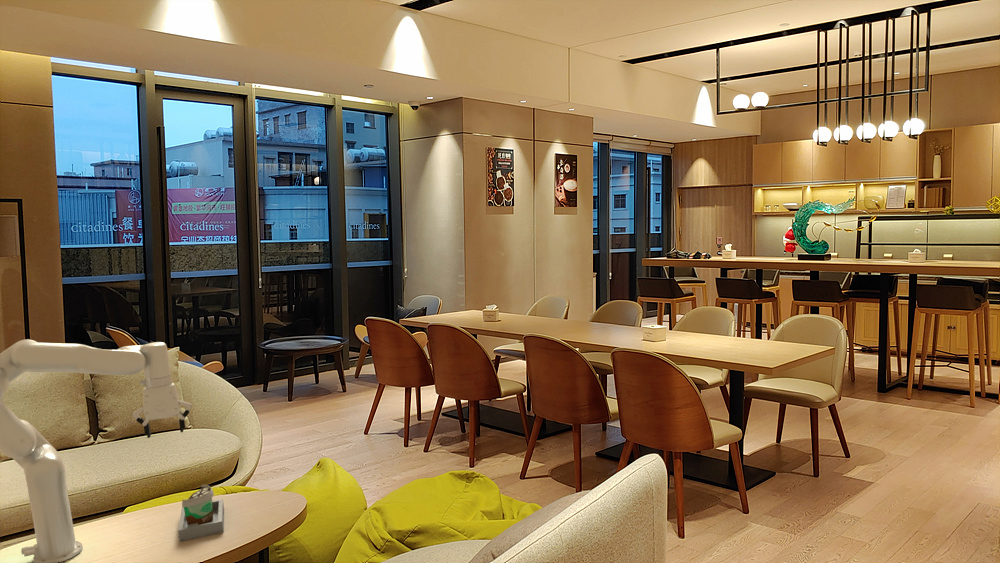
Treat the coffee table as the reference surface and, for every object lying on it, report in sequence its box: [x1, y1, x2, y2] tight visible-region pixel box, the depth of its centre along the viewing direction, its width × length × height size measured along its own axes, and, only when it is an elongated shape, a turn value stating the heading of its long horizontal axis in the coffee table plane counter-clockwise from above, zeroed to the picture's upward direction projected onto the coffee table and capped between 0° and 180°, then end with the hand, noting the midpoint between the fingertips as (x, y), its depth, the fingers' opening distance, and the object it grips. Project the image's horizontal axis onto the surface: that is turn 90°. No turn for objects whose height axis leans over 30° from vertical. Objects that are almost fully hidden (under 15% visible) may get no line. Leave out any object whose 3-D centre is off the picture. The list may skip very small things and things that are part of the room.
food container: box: [181, 484, 215, 527], centre depth 231 cm, size 12×6×10 cm, turn 172°
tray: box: [177, 498, 225, 543], centre depth 231 cm, size 12×18×4 cm
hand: (165, 433), depth 234 cm, fingers open, 9 cm apart
